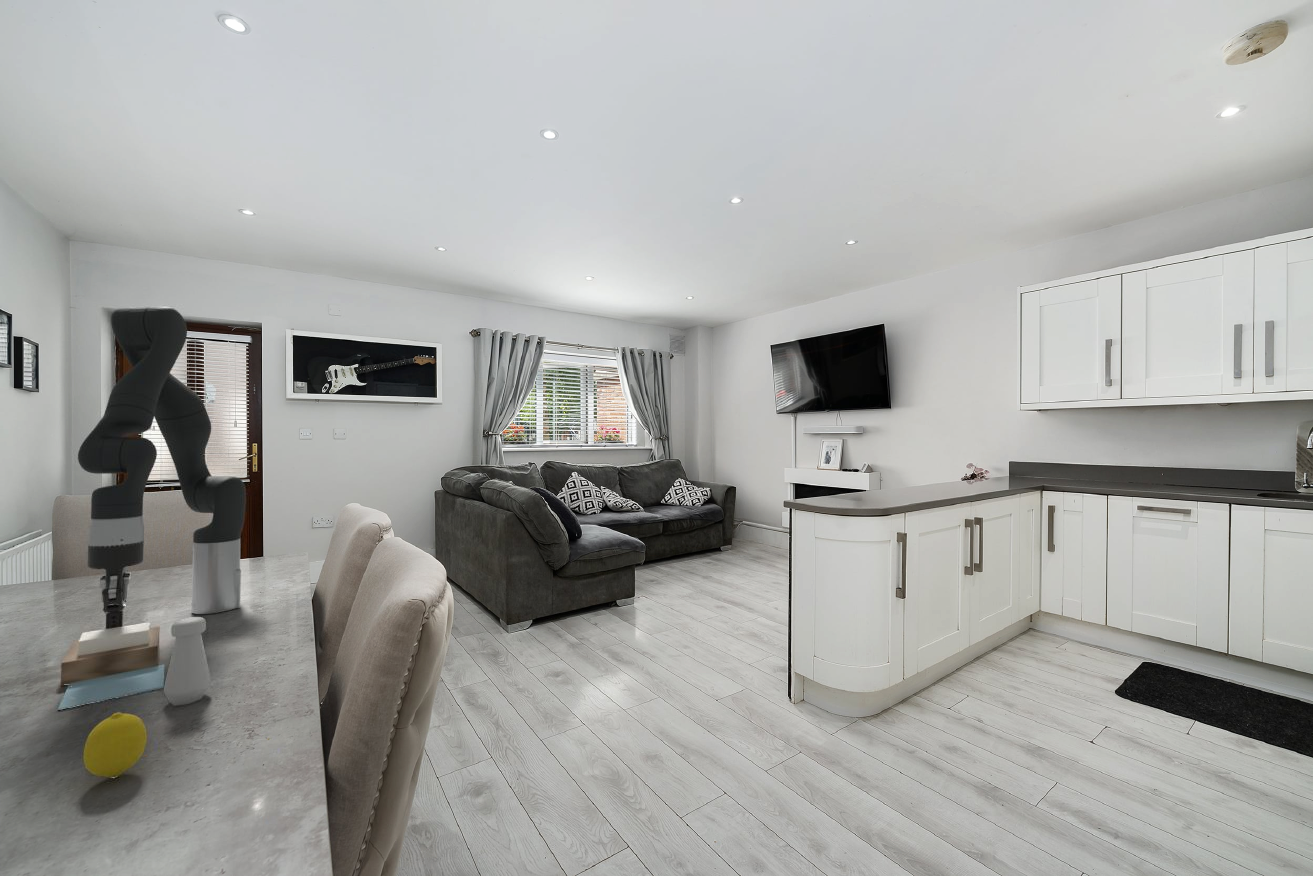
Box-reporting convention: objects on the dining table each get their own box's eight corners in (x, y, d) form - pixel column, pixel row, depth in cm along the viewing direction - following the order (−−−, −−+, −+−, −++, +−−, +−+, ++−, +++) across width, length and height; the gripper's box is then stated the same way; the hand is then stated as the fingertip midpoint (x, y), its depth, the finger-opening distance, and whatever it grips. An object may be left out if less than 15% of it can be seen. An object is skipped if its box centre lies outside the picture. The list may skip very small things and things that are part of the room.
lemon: (111, 765, 69) (113, 703, 69) (157, 763, 69) (159, 701, 69) (68, 793, 63) (69, 725, 63) (118, 791, 64) (120, 724, 64)
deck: (159, 646, 109) (159, 626, 109) (157, 667, 99) (157, 645, 99) (72, 661, 101) (73, 640, 101) (60, 686, 91) (61, 663, 91)
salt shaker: (219, 694, 88) (220, 616, 89) (178, 710, 83) (180, 627, 83) (195, 689, 90) (197, 612, 90) (154, 704, 85) (156, 622, 85)
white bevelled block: (149, 635, 104) (149, 622, 104) (148, 643, 100) (149, 630, 100) (82, 646, 98) (82, 632, 98) (78, 656, 94) (78, 641, 94)
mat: (164, 666, 99) (164, 664, 99) (163, 688, 91) (163, 686, 91) (69, 685, 91) (69, 683, 91) (57, 711, 83) (57, 709, 83)
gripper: (141, 543, 100) (139, 636, 100) (145, 534, 110) (143, 619, 110) (83, 548, 95) (80, 646, 95) (92, 538, 105) (90, 626, 105)
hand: (114, 631), depth 102 cm, fingers closed
